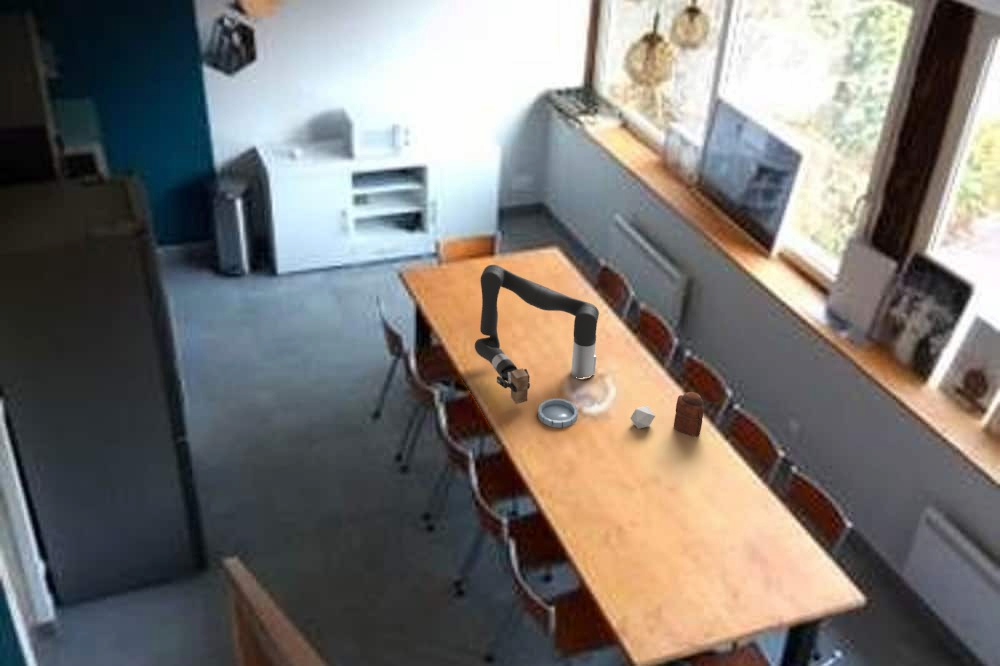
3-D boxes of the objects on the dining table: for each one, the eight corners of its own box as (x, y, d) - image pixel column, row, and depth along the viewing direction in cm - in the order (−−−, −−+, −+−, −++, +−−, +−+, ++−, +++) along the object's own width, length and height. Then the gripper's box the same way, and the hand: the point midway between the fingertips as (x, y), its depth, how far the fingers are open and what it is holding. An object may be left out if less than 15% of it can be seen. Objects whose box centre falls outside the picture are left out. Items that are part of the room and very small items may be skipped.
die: (645, 417, 421) (632, 400, 417) (662, 417, 414) (649, 400, 410) (636, 433, 417) (622, 416, 413) (652, 433, 410) (639, 417, 406)
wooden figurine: (703, 430, 414) (710, 394, 404) (698, 439, 409) (704, 402, 399) (676, 420, 418) (681, 384, 408) (670, 429, 414) (675, 393, 404)
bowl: (565, 399, 428) (565, 394, 427) (583, 421, 417) (584, 416, 415) (531, 409, 422) (531, 404, 421) (549, 431, 411) (549, 426, 409)
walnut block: (521, 394, 425) (522, 368, 417) (527, 400, 421) (528, 375, 414) (510, 397, 423) (511, 371, 416) (516, 404, 419) (516, 378, 412)
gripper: (488, 363, 424) (506, 385, 411) (519, 354, 429) (538, 376, 416) (488, 377, 428) (506, 400, 415) (519, 369, 433) (538, 391, 421)
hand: (522, 388), depth 416 cm, fingers closed on walnut block, 5 cm apart
